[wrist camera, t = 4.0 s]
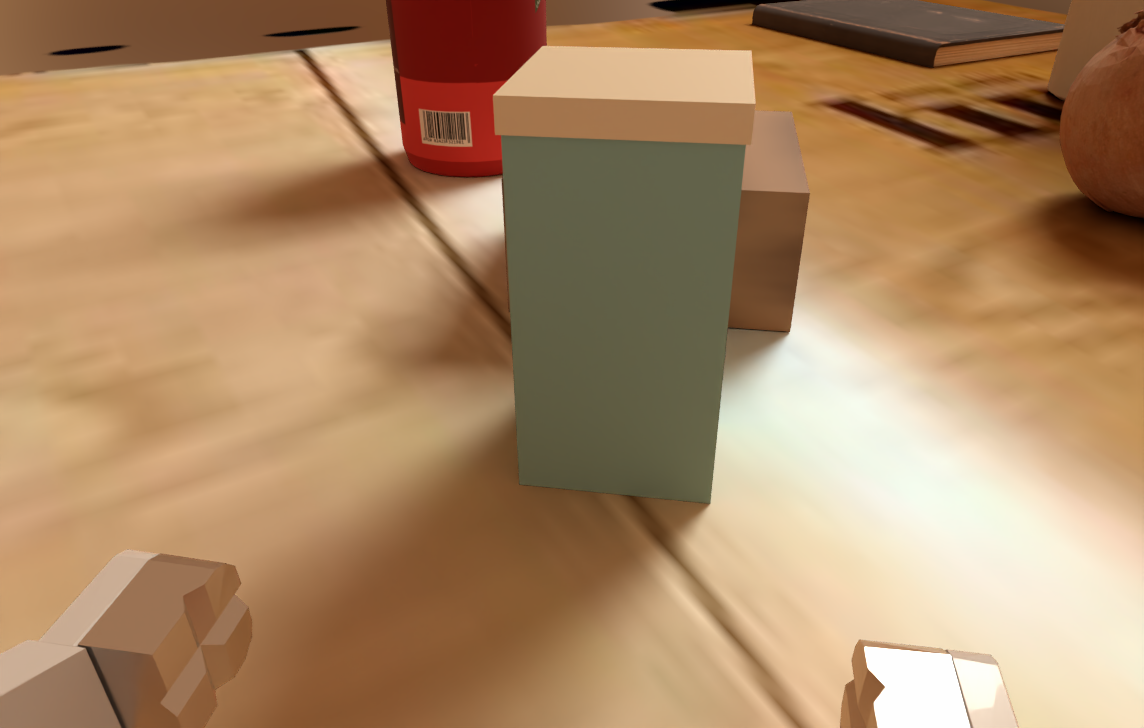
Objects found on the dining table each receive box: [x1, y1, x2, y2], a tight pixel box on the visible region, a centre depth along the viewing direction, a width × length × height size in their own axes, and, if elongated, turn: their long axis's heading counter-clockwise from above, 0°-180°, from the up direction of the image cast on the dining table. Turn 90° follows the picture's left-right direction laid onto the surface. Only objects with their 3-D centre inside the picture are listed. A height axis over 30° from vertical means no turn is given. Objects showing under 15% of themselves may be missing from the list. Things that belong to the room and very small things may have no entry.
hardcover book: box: [752, 0, 1065, 68], centre depth 77 cm, size 16×23×2 cm
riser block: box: [502, 111, 810, 332], centre depth 33 cm, size 10×10×5 cm
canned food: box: [386, 0, 547, 177], centre depth 44 cm, size 8×8×11 cm
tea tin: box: [493, 46, 755, 504], centre depth 21 cm, size 5×5×10 cm
